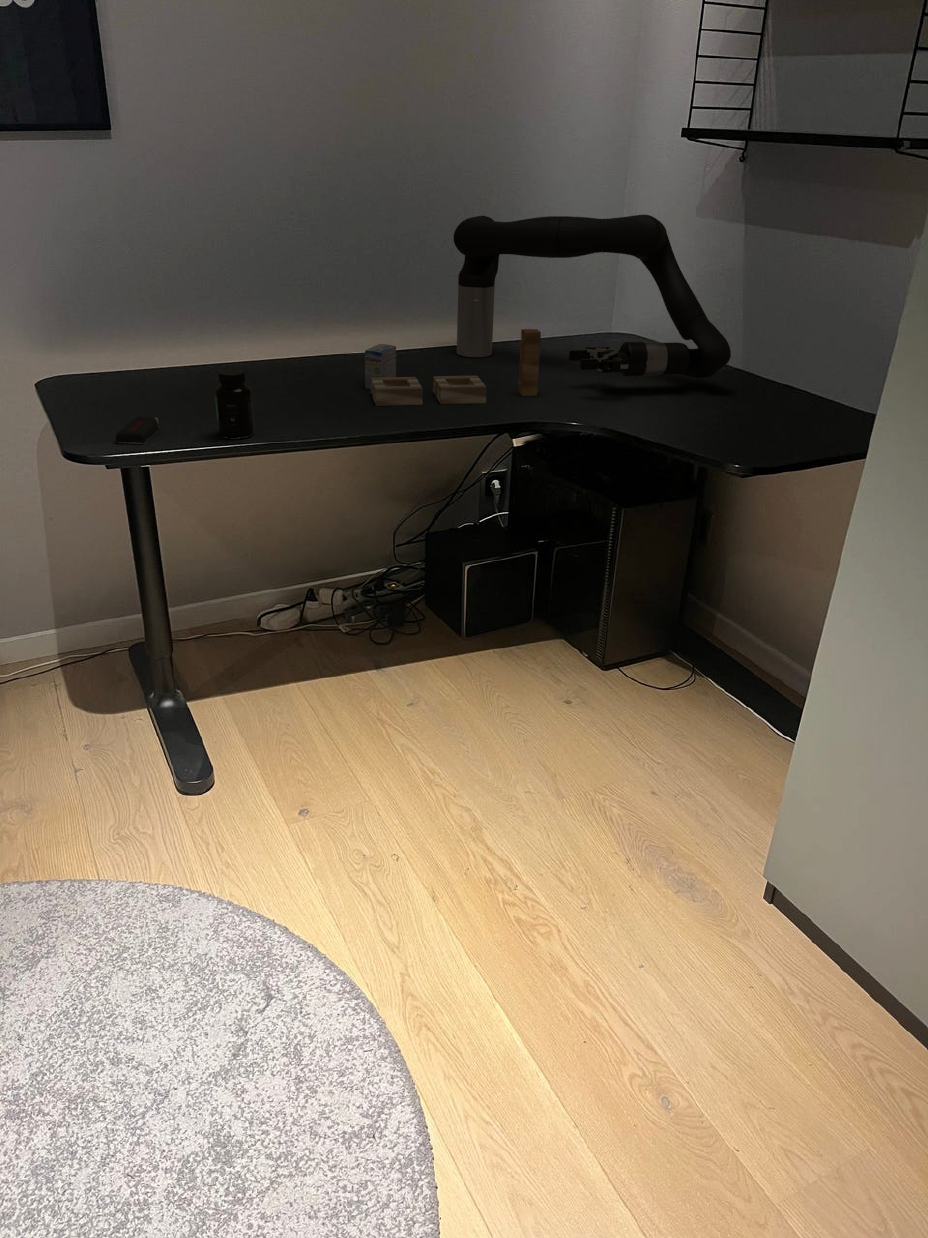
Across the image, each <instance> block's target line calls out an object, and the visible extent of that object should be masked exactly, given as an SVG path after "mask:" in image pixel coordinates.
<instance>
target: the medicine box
mask: <svg viewBox="0 0 928 1238" xmlns="http://www.w3.org/2000/svg"><path fill="white" fill-rule="evenodd" d="M364 370H365V371H364V383H365V385H364V387H365V389H366V390H371V378H388V377H397V346H396V345H392V344H385V343H378V344H377V345H374V346H372V347H370V348H368V349H366V350H364Z"/></svg>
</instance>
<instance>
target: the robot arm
mask: <svg viewBox="0 0 928 1238" xmlns="http://www.w3.org/2000/svg"><path fill="white" fill-rule="evenodd" d="M453 243H454V246H455V248H456V249H457V250H458V251H459V253H460V254H462V255H464V261H463V264H462V266H461V267H462V268H461V269H460V271H459V272H458V278H457V279H458V280H457V281H458V283H457V319H456V320H457V322H456V323H457V325H456V327H457V328H456V354H457V355H458V356H462V357H465V358H466V357H467V358H484V357H485V358H486V357H490V356H491V355H492V354H493V353H492V352H493V338H494V337H493V335H494V312H495V311H494V310H495V290H496V289H495V286H496V285H495V284H496V283H495V282H496V278H497V274H498V271H499V262H500V255H513V256H522V257H532V258H546V259H547V258H548V259H555V258H556V259H562V258H563V259H567V258H568V259H569V258H576V257H582V256H587V255H592V254H598V253H599V254H600V253H610V254H619V255H620V254H621V255H628V256H632V257H635V258H637V259H638V260H640V261H641V263H642V264H643V265H644V266H645V268H646V269H647V270H648V272H649V273H650V275H651V277H652V278H653V280H654V282H655V283H656V286H657V288H658V290H659V292H660V295H661V298H662V301H663V303H664V306H665V308H666V311H667V313H668V315H669V318H670V319H671V321H672V323H673V325H674V327H675V328H676V330H677V332H678V334H679V335H680V337H681V338H682V339H683V340H685V341H690V340H691V341H692V342H693V343H694V344H695V346H696V347H697V348H689V346H687V344H685V343H682V342H659V341H625V342H623V343H622V344H621V346H620V349H619V350H618V351H616V350H615V348H611V347H610V346H601V347H600V346H597V347H596V346H595V347H594V346H585V347H584V348H585V349H571V350H569V351H568V360H570V361H571V362H572V361H573V362H574V361H577V362H579V369H580V370H582V371H583V370H585V371H587V370H589V371H591V370H593V371H594V370H595V371H599V372H602V373H604V374H608V373H610V374H611V373H620V374H621V375H622V376H623V377H645V376H646V377H649V376H651V377H652V376H658V375H676V374H677V375H678V374H679V375H682V376H687V377H691V378H703V379H704V378H709V377H712V376H714V375H716V374H717V373H718V372H719V371H720V370H722V369H723V368H724V367H725V366H727V364H728V363H729V362H730V361H731V356H732V355H731V354H732V351H731V347H730V345H729V344H730V343H729V341H727V339H726V337H725V336H724V335H723V333H722V332H721V331H720V330H718V328H717V326H715V324H713V323H712V322H711V321H710V320H709V318H708V317H707V315H706V313H705V311H704V309H703V307H702V305H701V304H700V302H699V300H698V298H697V296H696V295H695V293H694V291H693V289H692V288H691V286H690V284H689V283H688V281H687V279H686V278H685V275H684V274H683V272H682V270H681V268H680V265H679V263H678V261H677V259H676V257H675V253H674V250H673V248H672V245H671V242H670V239H669V235H668V232H667V229H666V227H665V225H664V224H663V222H661V221H660V220H659V219H657V218H656V217H654V216H652V215H649V214H637V215H636V214H635V215H630V216H621V217H612V218H596V217H587V216H586V217H585V216H567V215H566V216H565V215H562V216H561V215H560V216H559V215H556V216H553V215H552V216H539V217H538V216H537V217H531V218H524V219H519V220H518V219H517V220H514V221H513V220H512V221H497V220H494V219H493V218H492V217H489V216H486V215H477V216H472V217H468V218H466V219H464V220H463V221H461V222H460V223H459V224H458V225H457V226H456V228H455V230H454V232H453ZM591 353H592V354H593V355H591Z"/></svg>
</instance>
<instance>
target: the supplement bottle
mask: <svg viewBox="0 0 928 1238" xmlns="http://www.w3.org/2000/svg"><path fill="white" fill-rule="evenodd" d="M217 375H218V383H219V384H220V385H218V386H216V388H215V390H214V404H215V409H216V410H215V412H216V413H215V414H216V423H217V432H218V433H217V434H218V436H220V437H221V436H223V437H228V438H237V437H245V436H250V435H252V434H253V435H255V419H254V418H255V417H254V407H253V394H252V393H253V392H252V389H251V387H250V386H248V385H247V384H246V382H247V381H246V374H245V371H244V370H242V369H235V368H233V369H223V370H220V371H219V372H218V374H217ZM253 435H252V436H253Z"/></svg>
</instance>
